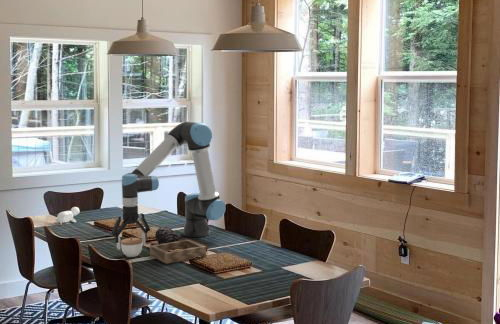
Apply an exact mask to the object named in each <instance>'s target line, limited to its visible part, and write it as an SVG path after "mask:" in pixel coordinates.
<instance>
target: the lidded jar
mask: <svg viewBox="0 0 500 324" xmlns="http://www.w3.org/2000/svg"><path fill="white" fill-rule="evenodd" d="M120 249H121V251H122V253H123V254H124V255H125V256H126V257H127V258H135V257H137V256H139V255H140V254H141V252H142V250H143V245H142V238H139V237H133V236H130V237H128V238H127V237H126V238H123V239H120Z"/></svg>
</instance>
